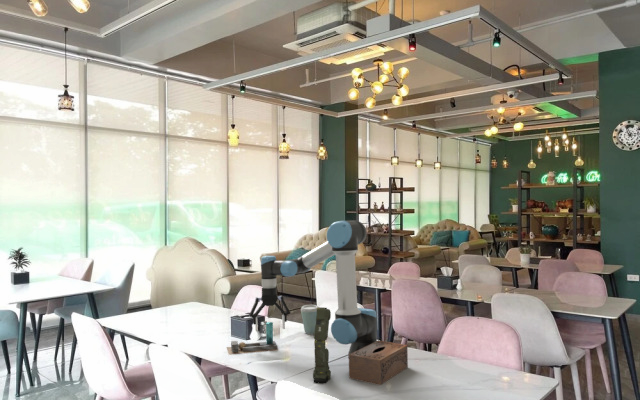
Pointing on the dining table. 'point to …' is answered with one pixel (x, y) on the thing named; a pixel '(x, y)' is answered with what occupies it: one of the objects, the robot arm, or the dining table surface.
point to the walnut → (242, 345)
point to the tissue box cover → (378, 362)
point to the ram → (268, 335)
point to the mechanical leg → (321, 346)
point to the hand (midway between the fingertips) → (270, 329)
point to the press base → (250, 348)
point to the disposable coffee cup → (309, 318)
